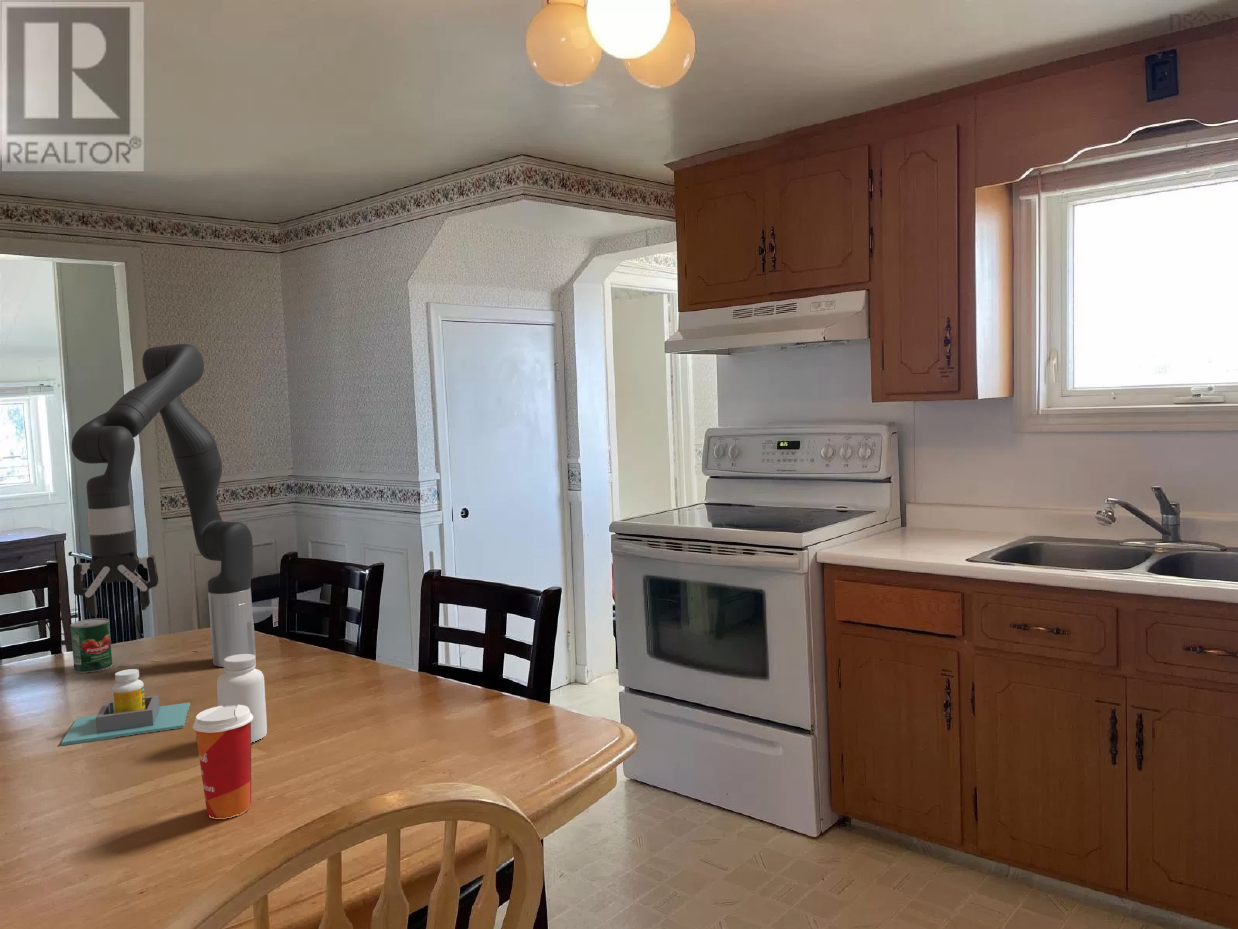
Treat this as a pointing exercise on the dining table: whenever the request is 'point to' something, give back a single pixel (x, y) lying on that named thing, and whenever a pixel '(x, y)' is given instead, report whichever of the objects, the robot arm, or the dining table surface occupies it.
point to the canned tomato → (91, 645)
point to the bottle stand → (126, 721)
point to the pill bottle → (244, 690)
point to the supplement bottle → (128, 692)
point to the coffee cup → (225, 758)
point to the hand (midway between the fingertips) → (119, 612)
